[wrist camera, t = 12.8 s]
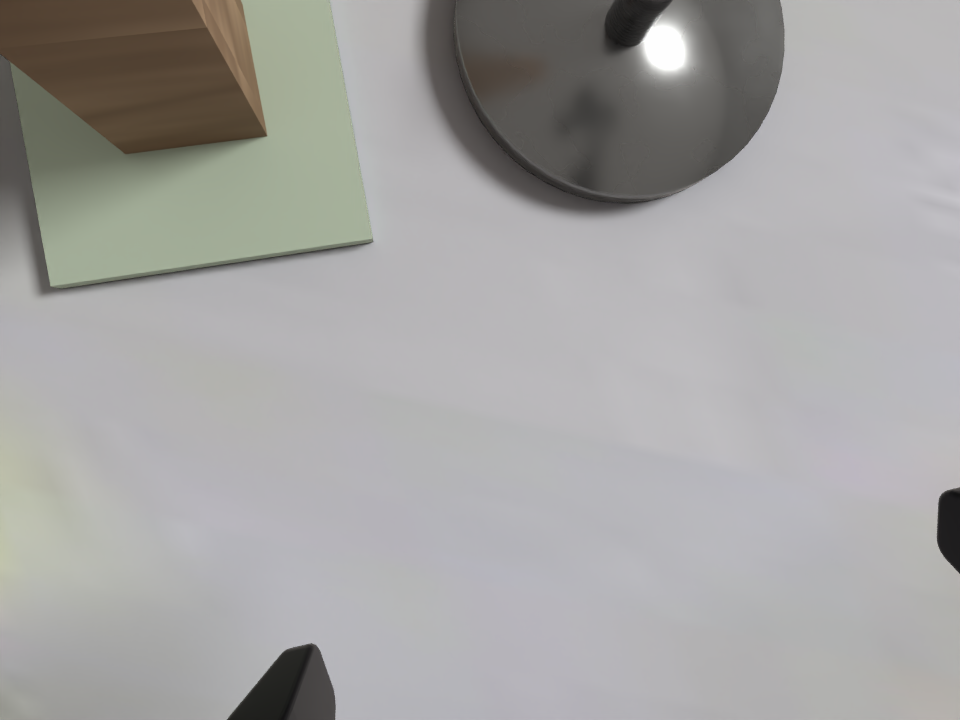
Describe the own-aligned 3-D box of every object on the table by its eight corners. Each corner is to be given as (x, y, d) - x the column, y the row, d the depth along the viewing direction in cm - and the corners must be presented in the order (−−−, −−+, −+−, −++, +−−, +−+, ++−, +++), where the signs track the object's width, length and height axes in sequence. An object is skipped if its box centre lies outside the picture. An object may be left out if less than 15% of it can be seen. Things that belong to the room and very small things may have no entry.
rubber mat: (373, 241, 20) (372, 238, 19) (59, 288, 18) (50, 286, 18) (310, -103, 20) (308, -115, 19) (-8, -82, 18) (-19, -94, 18)
